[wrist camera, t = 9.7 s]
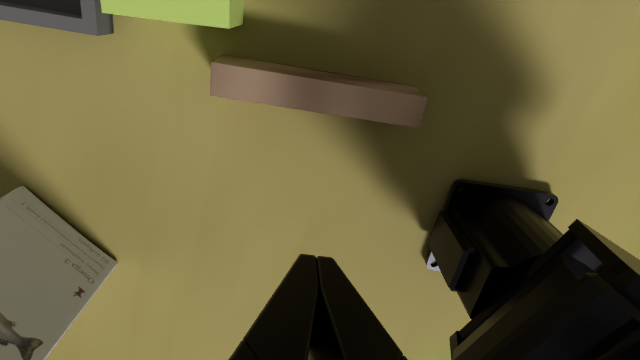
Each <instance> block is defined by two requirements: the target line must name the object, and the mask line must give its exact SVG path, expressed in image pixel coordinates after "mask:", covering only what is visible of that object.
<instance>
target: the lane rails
mask: <svg viewBox="0 0 640 360" xmlns="http://www.w3.org/2000/svg"><path fill="white" fill-rule="evenodd" d="M210 96H216V97H222V98H229V99H235V100H241V101H248V102H254V103H261V104H267V105H273V106H280V107H286V108H293V109H299V110H305V111H312V112H318V113H324V114H331V115H337V116H344V117H350V118H356V119H363V120H369V121H376V122H382V123H388V124H395V125H401V126H408V127H414V128H420V124H421V121H422V117H423V114H424V111H425V107H426V104H427V100H428V97H427V96H425V95H424V94H423V93H422V92H421V91H419V90H418V89H417V88H416V87H414V86H408V85H402V84H396V83H390V82H384V81H378V80H372V79H366V78H360V77H354V76H348V75H342V74H336V73H330V72H324V71H318V70H312V69H306V68H300V67H294V66H288V65H282V64H276V63H270V62H264V61H258V60H252V59H246V58H240V57H234V56H228V55H222V56H220V57H219V58H217V59H215V60H214V61H212V62H211V80H210Z"/></svg>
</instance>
